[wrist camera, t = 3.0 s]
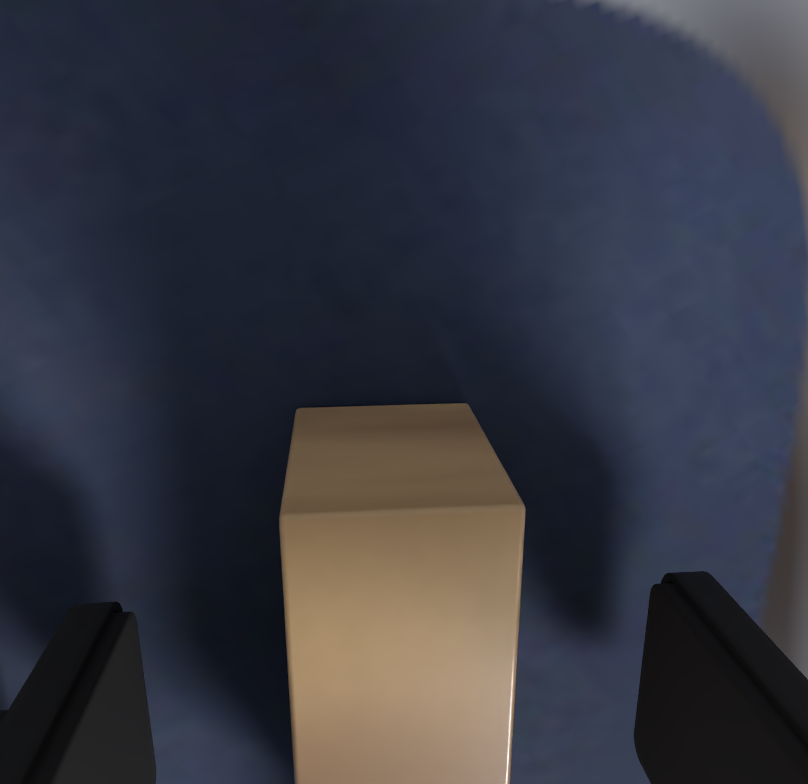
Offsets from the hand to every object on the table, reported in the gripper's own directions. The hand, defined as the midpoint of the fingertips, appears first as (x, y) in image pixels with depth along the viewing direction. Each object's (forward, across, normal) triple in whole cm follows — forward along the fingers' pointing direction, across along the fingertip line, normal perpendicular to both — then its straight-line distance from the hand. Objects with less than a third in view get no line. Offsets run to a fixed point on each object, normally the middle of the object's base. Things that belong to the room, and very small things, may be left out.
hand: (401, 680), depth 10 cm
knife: (+1, 0, +4) cm, 4 cm away
